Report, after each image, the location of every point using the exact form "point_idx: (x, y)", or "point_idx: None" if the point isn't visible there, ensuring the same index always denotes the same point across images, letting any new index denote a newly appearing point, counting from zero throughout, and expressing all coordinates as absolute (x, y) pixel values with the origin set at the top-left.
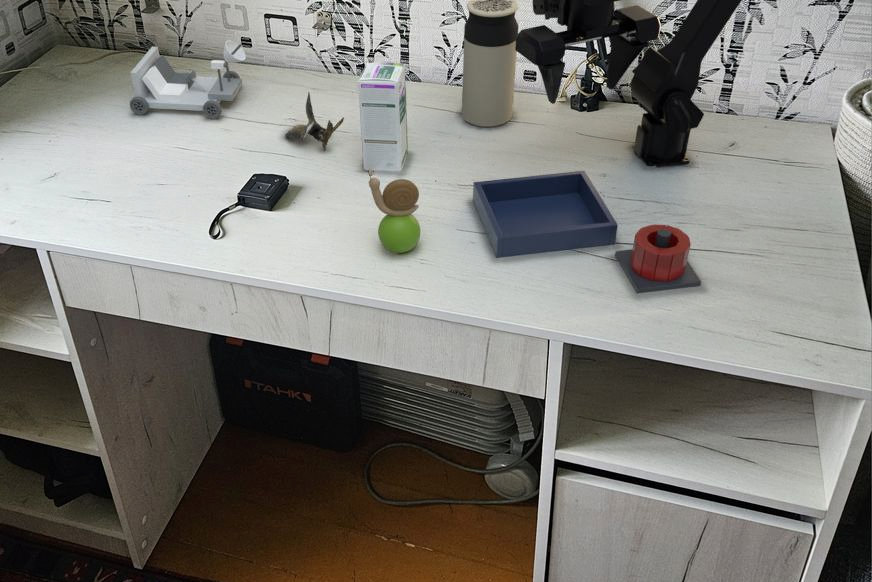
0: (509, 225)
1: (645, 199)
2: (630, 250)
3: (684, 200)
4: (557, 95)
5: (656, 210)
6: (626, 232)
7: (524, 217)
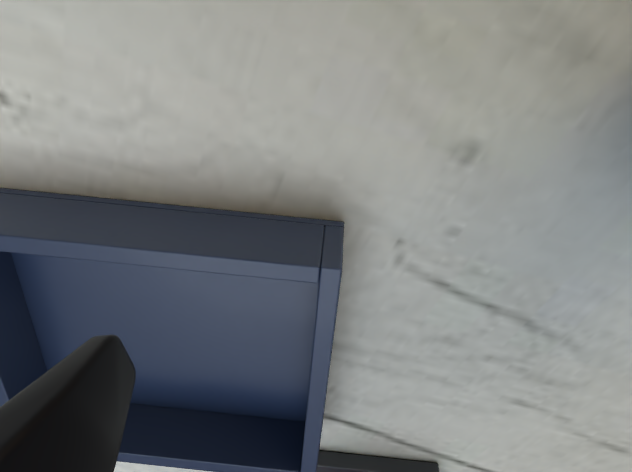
0: (83, 319)
1: (507, 305)
2: (333, 469)
3: (608, 336)
4: (111, 463)
5: (500, 351)
6: (372, 396)
7: (128, 301)
